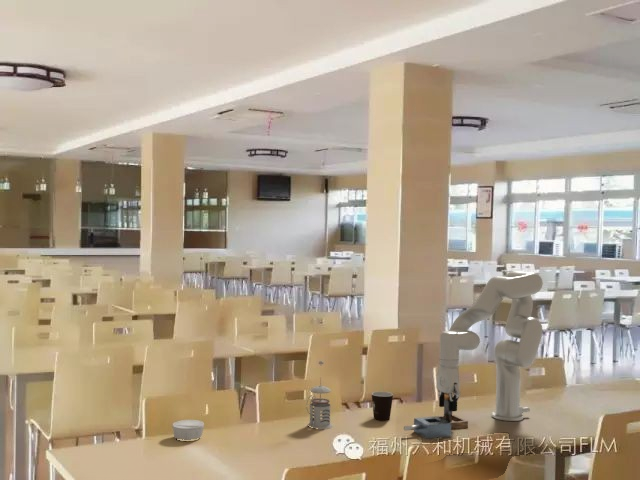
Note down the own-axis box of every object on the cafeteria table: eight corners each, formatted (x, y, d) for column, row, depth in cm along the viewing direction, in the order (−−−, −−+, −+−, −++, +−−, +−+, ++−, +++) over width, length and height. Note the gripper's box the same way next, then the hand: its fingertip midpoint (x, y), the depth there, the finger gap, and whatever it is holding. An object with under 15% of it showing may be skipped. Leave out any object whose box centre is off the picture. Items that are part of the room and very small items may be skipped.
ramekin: (177, 444, 245) (177, 429, 245) (168, 436, 255) (168, 421, 255) (208, 440, 250) (208, 425, 250) (198, 432, 260) (198, 418, 260)
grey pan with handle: (437, 429, 271) (437, 416, 270) (450, 436, 261) (451, 423, 261) (398, 432, 265) (398, 419, 265) (411, 440, 255) (411, 426, 255)
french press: (338, 426, 272) (339, 361, 272) (317, 431, 264) (318, 364, 264) (319, 421, 279) (320, 357, 279) (298, 426, 271) (299, 361, 270)
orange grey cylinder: (442, 422, 278) (442, 391, 277) (449, 421, 279) (450, 391, 279) (446, 424, 275) (447, 393, 274) (453, 423, 276) (454, 393, 276)
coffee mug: (391, 422, 279) (391, 397, 279) (369, 420, 281) (370, 395, 281) (394, 415, 290) (394, 390, 290) (373, 413, 292) (373, 389, 292)
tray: (454, 420, 284) (454, 414, 284) (467, 427, 274) (467, 421, 274) (427, 422, 279) (427, 417, 279) (440, 429, 270) (440, 423, 270)
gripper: (429, 359, 283) (428, 404, 283) (452, 367, 267) (451, 415, 267) (445, 358, 286) (444, 403, 286) (469, 366, 270) (468, 413, 270)
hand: (447, 408), depth 277 cm, fingers open, 6 cm apart
